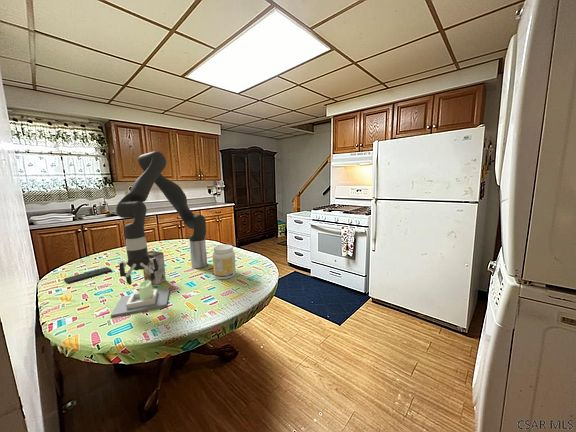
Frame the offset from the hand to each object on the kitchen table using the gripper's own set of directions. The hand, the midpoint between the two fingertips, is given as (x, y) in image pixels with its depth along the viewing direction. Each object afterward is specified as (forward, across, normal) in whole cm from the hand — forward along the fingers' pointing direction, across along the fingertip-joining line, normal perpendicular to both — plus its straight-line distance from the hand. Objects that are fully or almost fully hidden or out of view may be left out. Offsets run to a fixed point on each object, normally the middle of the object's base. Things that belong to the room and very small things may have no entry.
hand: (141, 282), depth 103 cm
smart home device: (+10, +35, -48) cm, 60 cm away
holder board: (+10, 0, 0) cm, 10 cm away
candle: (+9, -1, 0) cm, 9 cm away
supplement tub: (+10, -38, -15) cm, 42 cm away
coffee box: (+10, -2, -23) cm, 25 cm away
